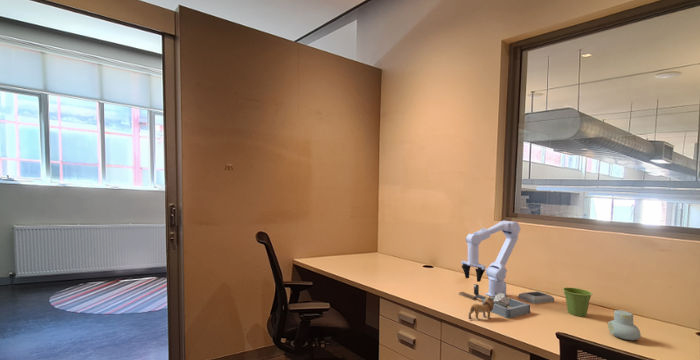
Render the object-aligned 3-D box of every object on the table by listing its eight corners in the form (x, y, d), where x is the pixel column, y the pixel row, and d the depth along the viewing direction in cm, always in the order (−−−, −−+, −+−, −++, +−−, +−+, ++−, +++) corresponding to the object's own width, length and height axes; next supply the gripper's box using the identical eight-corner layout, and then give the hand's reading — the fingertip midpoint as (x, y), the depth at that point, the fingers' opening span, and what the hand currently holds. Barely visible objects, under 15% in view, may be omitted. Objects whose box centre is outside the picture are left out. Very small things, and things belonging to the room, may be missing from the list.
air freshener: (642, 345, 120) (642, 319, 120) (615, 340, 123) (615, 315, 124) (631, 334, 130) (631, 310, 130) (606, 330, 133) (606, 306, 134)
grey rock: (505, 317, 154) (516, 305, 149) (488, 310, 155) (499, 297, 150) (503, 303, 161) (513, 291, 156) (487, 296, 163) (497, 284, 157)
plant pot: (557, 311, 154) (557, 288, 155) (572, 308, 159) (572, 286, 159) (582, 320, 143) (582, 295, 144) (598, 317, 148) (597, 293, 149)
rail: (462, 293, 178) (462, 291, 178) (477, 299, 169) (477, 296, 169) (458, 294, 177) (459, 292, 177) (473, 299, 168) (473, 297, 168)
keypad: (518, 292, 174) (538, 290, 178) (518, 298, 173) (538, 296, 178) (533, 297, 165) (554, 295, 169) (533, 304, 164) (554, 302, 169)
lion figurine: (487, 314, 148) (487, 294, 148) (497, 318, 143) (497, 298, 143) (464, 318, 141) (465, 298, 142) (474, 322, 137) (474, 302, 137)
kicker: (481, 296, 172) (481, 283, 172) (498, 303, 162) (499, 288, 163) (467, 299, 167) (467, 285, 167) (485, 306, 157) (485, 291, 157)
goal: (503, 303, 163) (503, 296, 163) (530, 312, 151) (530, 304, 151) (482, 308, 155) (482, 300, 155) (508, 318, 143) (508, 309, 143)
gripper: (457, 253, 179) (457, 277, 178) (479, 258, 166) (479, 283, 166) (466, 252, 182) (465, 276, 182) (487, 257, 170) (487, 282, 169)
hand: (472, 279), depth 174 cm, fingers open, 7 cm apart
